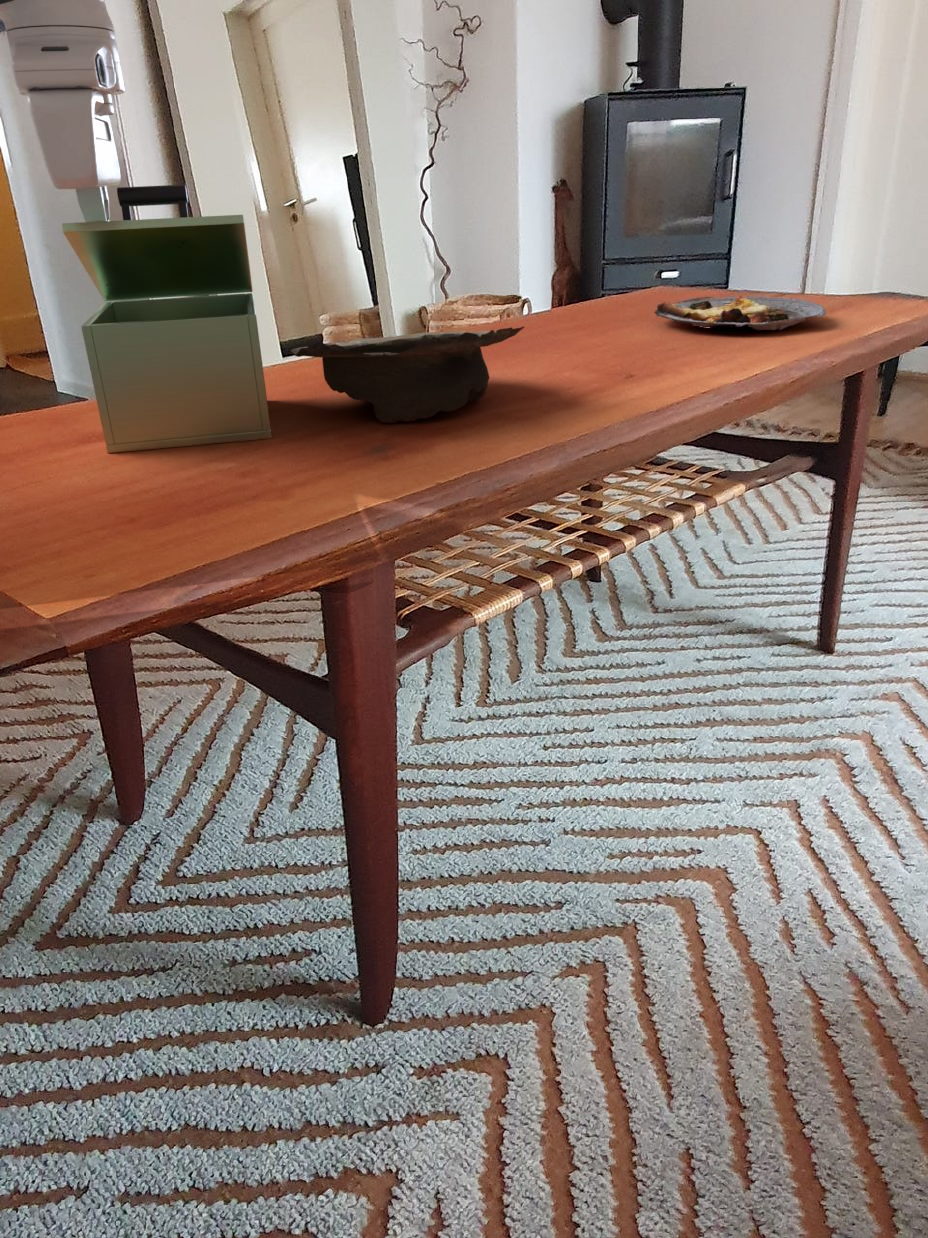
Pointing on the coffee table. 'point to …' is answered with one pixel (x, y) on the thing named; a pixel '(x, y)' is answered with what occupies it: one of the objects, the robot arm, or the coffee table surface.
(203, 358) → the box
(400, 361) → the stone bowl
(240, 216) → the breadbin lid
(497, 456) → the coffee table surface
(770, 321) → the food plate
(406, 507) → the coffee table surface
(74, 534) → the coffee table surface
